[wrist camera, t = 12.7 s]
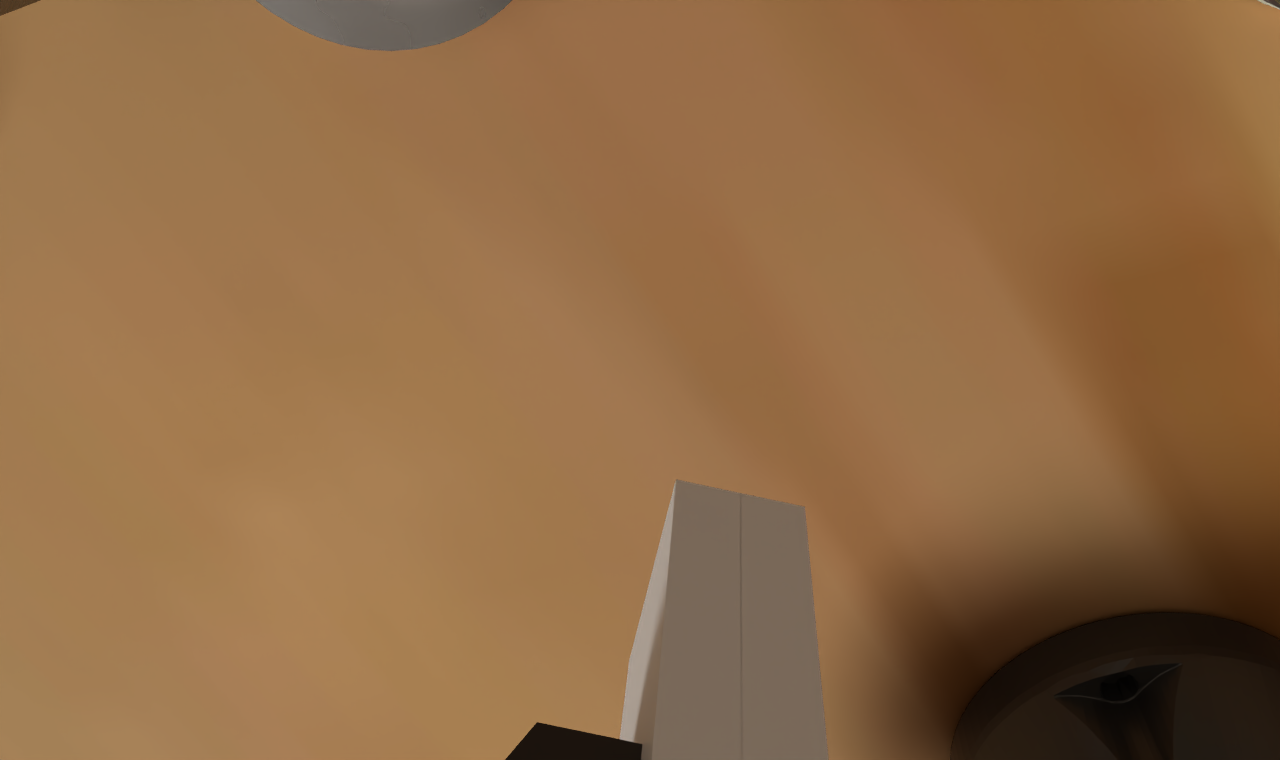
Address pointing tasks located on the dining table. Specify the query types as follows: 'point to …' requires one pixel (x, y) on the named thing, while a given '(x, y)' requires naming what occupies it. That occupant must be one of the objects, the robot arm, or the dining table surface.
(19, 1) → the keeper
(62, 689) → the dining table surface
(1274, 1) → the coffee can
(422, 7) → the pin plate
